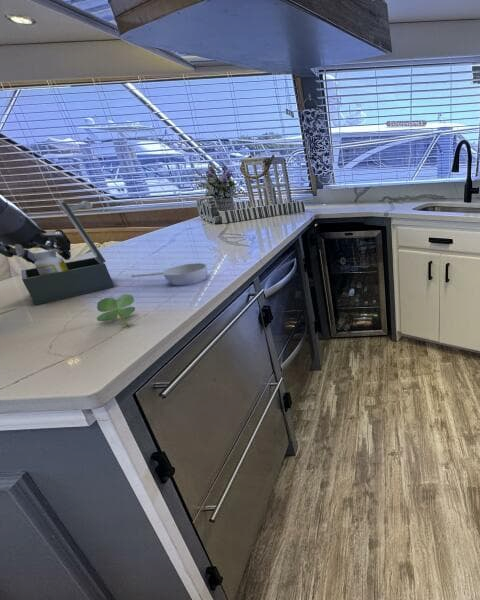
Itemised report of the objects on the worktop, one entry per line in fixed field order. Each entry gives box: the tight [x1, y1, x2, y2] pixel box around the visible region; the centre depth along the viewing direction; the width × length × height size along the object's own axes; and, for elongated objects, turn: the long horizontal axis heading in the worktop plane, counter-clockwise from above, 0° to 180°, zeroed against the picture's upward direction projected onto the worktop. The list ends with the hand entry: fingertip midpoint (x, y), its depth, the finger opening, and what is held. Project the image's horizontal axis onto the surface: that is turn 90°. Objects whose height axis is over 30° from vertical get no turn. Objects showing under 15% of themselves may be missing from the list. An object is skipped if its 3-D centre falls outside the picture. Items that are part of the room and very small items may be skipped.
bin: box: [20, 256, 115, 306], centre depth 88 cm, size 16×13×7 cm
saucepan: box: [131, 262, 208, 286], centre depth 91 cm, size 11×18×4 cm, turn 114°
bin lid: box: [56, 199, 107, 263], centre depth 89 cm, size 16×13×6 cm
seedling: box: [96, 293, 136, 327], centre depth 68 cm, size 7×8×7 cm
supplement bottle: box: [32, 249, 68, 275], centre depth 85 cm, size 5×5×10 cm
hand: (52, 258), depth 86 cm, fingers open, 6 cm apart
